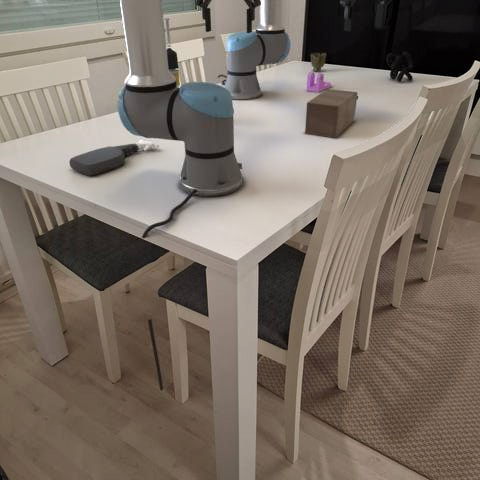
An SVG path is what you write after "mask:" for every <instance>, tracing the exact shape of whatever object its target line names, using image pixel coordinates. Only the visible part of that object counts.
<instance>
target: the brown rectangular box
mask: <svg viewBox="0 0 480 480" xmlns="http://www.w3.org/2000/svg"><path fill="white" fill-rule="evenodd" d="M357 93H358V92H357V91H351V90H341V89H332V88H327V89H325V90H323V91H321V92H320V93H319V94H318V95H317V96H315V97H313V98H312V99H310V100H309V101H308V102H307V101H306V113H305V129H304V134H305V135H313V136H320V137H327V138H332V139H336V138H338V136H340V135H341V134H342V133H343V132H344V131H345V130H346V129H348V127H349V126H350V125H352V124H353V122H355V121H354V120H355V116H354V113H355V114H356V110H355V105H356V106H357V102H356V96H358V94H357Z"/></svg>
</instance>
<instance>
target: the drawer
mask: <svg viewBox="0 0 480 480" xmlns="http://www.w3.org/2000/svg"><path fill="white" fill-rule="evenodd" d="M358 94H359V93H358V92H357V96H356V103H357V102H358V100H359V95H358ZM356 109H357V104H356V105H355V111H356ZM355 116H356V112H355V113H354V117H355Z"/></svg>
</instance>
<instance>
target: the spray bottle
mask: <svg viewBox="0 0 480 480" xmlns="http://www.w3.org/2000/svg"><path fill="white" fill-rule="evenodd" d="M159 148H160V145H159V144H158V143H155V142H151V141H148V140H144V139H139V140H138V141H137V142H135V143H129V144H128V143H126V144H122V145H113V146H105V147H100V148H97V149H94V150H90V151H87V152H83V153H81V154H78V155H74V156H73V157H70V159H69V161H68V162H69V167H70V168H71V169H72V170H74V171H75V172H78V173H81V174H83V175H85V176H89V177H90V176H91V177H92V176H95V175H99V174H102V173H105V172H107V171H110V170H113V169H116V168H118V167H120V166H122V165H123V164H124V163H125V158H126V156H127V155H131V154H133V153H138V151H140V150H143V151H144V152H146V151H147V150H149V149H159Z"/></svg>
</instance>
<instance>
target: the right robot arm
mask: <svg viewBox="0 0 480 480" xmlns="http://www.w3.org/2000/svg"><path fill="white" fill-rule="evenodd" d="M356 1H357V0H339V4H340V5H341V6H342V7H343V8H344V15H343V19H344V24H343V25H344V26H343V31H345V32H353V27H354V26H353V25H354V16H355V6H354V4H355V3H356ZM392 1H393V0H378V2H379V3H377V5H376V11H375V12H376V13H375V19H374V28H383V27H384V21H385V15H386V11H387V5H390V4H391V2H392ZM260 2H261V5H260V6H259V23H258V25H257V26H256V27H255V31H254V30H252V32H251V33H247V30H244V31H243V30H242V31H237V32H233V33H231V34H230V35H228V36H227V38H226V47H225V50H226V68H227V69H226V70H227V71H226V72H227V75H225V74H218V76H217V79H220V77H221V78H225V79H224V80H222V81H221V84H222V85H224V86H223V87H224V88H226V89H227V90H228V91H229V92H230V93H231V95H232V100H252V99H256V98H259V97H260V96H261V94H262V89H261V86H260V83H259V79H258V76H257V75H258V74H257V67H260V66H266V65H275V64H279V63H282V62H284V61H285V60H286V59H287V57H289V54H290V51H291V38H290V36H289V34H288V33H287V32H286V28H285V25H284V24H283V23H282V8H283V7H282V6H283V0H260Z"/></svg>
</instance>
